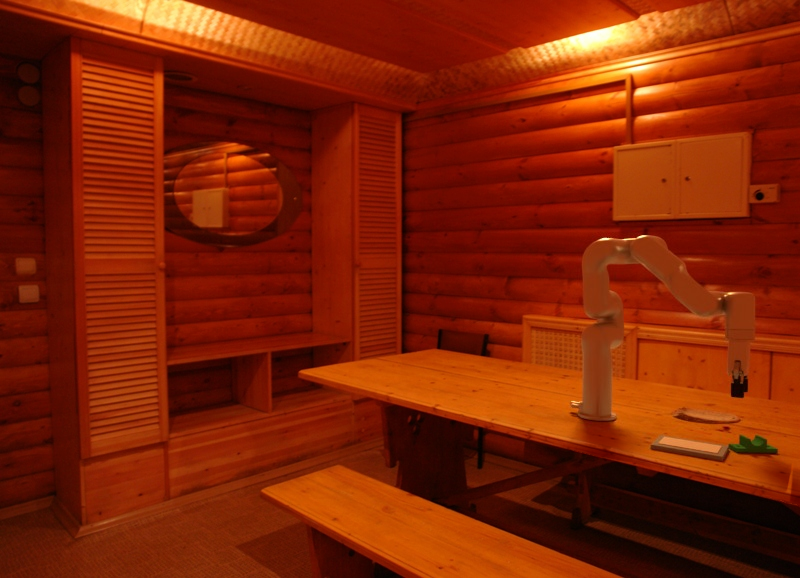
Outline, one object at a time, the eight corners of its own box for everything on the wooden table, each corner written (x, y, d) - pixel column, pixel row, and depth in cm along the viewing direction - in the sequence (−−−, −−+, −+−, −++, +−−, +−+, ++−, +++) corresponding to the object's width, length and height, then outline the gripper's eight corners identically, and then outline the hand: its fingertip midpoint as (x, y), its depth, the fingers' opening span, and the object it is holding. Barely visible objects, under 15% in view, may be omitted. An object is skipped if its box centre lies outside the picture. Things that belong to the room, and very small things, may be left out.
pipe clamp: (768, 435, 171) (778, 439, 166) (768, 448, 171) (778, 453, 166) (728, 434, 171) (737, 439, 166) (728, 447, 171) (737, 452, 167)
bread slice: (747, 424, 198) (747, 413, 198) (713, 431, 190) (713, 419, 189) (696, 412, 214) (696, 402, 214) (663, 418, 205) (663, 407, 205)
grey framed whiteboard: (650, 448, 170) (650, 443, 170) (660, 438, 180) (660, 434, 180) (722, 461, 160) (722, 455, 159) (728, 450, 169) (728, 445, 169)
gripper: (729, 332, 182) (728, 388, 183) (720, 337, 168) (720, 398, 169) (757, 333, 178) (757, 391, 178) (751, 338, 164) (751, 401, 164)
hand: (739, 394), depth 173 cm, fingers open, 9 cm apart
